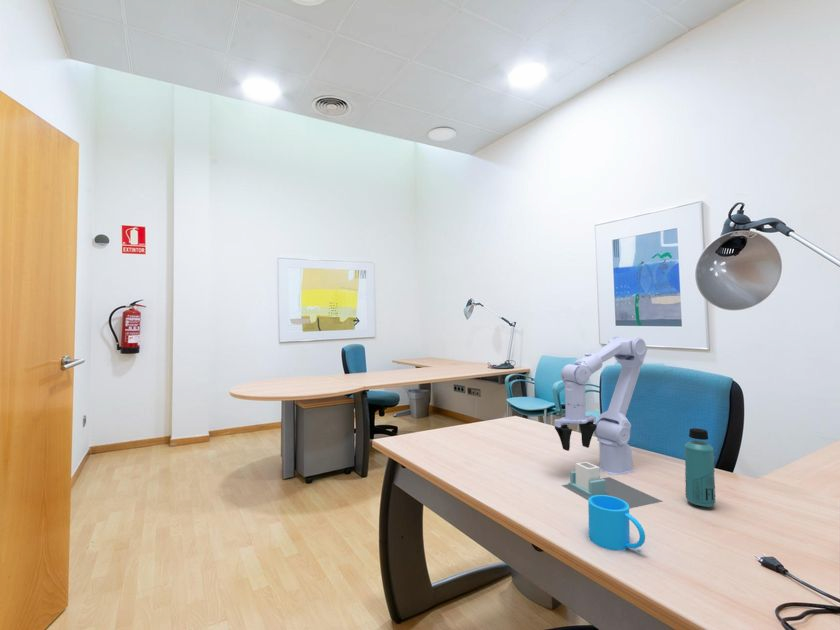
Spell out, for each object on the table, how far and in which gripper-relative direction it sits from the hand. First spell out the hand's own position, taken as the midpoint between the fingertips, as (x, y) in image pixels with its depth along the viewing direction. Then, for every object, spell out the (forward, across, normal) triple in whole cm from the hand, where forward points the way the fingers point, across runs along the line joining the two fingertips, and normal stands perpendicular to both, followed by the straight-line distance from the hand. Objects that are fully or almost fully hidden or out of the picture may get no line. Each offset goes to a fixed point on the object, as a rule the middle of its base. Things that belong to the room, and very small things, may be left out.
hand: (575, 448), depth 124 cm
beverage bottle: (+10, +16, -27) cm, 33 cm away
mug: (+10, -18, -32) cm, 38 cm away
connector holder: (+9, -4, -8) cm, 13 cm away
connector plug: (+8, -4, -8) cm, 12 cm away
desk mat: (+9, 0, -12) cm, 16 cm away
